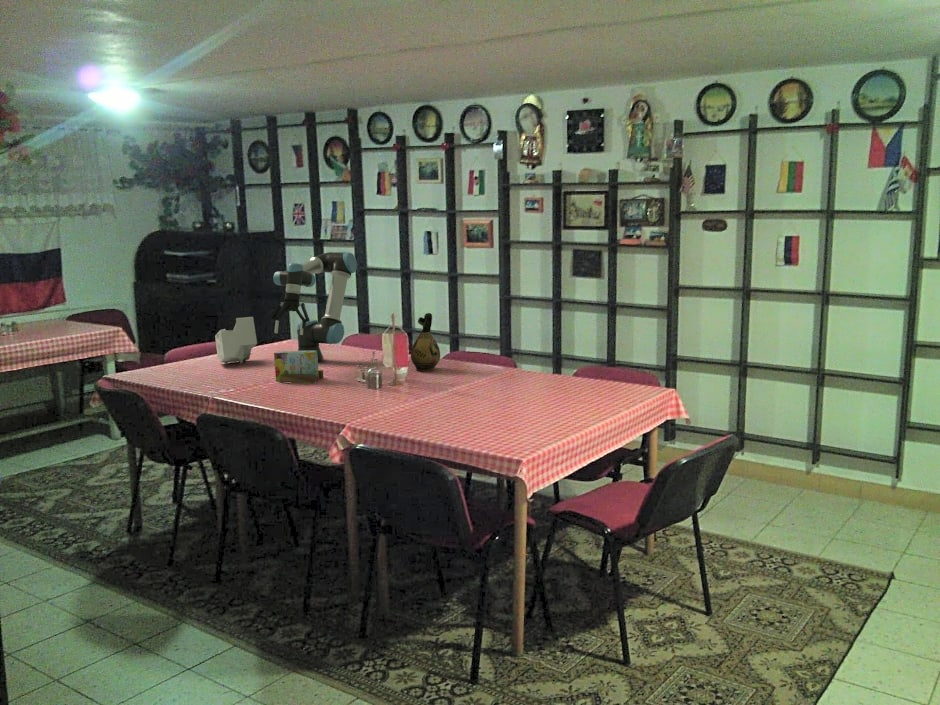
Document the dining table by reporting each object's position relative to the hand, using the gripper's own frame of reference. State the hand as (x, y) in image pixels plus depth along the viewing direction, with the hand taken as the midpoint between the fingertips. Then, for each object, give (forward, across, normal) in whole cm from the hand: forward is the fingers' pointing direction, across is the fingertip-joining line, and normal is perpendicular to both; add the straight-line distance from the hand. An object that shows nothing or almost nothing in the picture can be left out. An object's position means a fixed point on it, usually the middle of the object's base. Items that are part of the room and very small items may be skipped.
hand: (288, 333), depth 433 cm
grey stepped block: (+15, -44, +40) cm, 61 cm away
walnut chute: (+23, +11, -4) cm, 26 cm away
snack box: (+24, +9, -3) cm, 26 cm away
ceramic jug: (+12, +69, +22) cm, 74 cm away
